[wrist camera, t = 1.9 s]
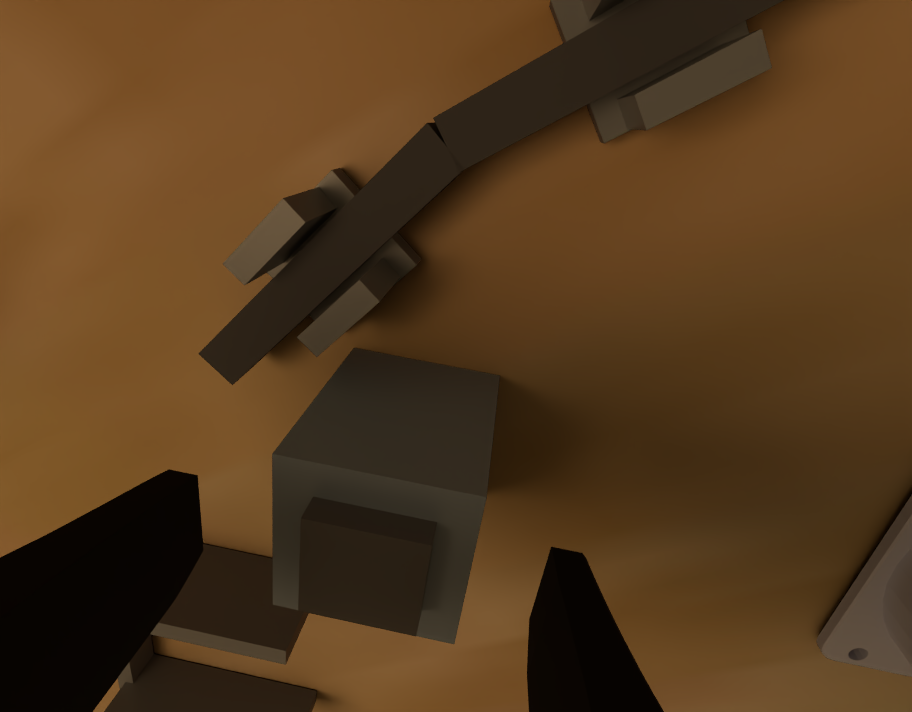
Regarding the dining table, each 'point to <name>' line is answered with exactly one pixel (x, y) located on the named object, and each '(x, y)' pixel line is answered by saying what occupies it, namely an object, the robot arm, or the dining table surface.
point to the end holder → (218, 643)
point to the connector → (384, 494)
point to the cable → (468, 156)
